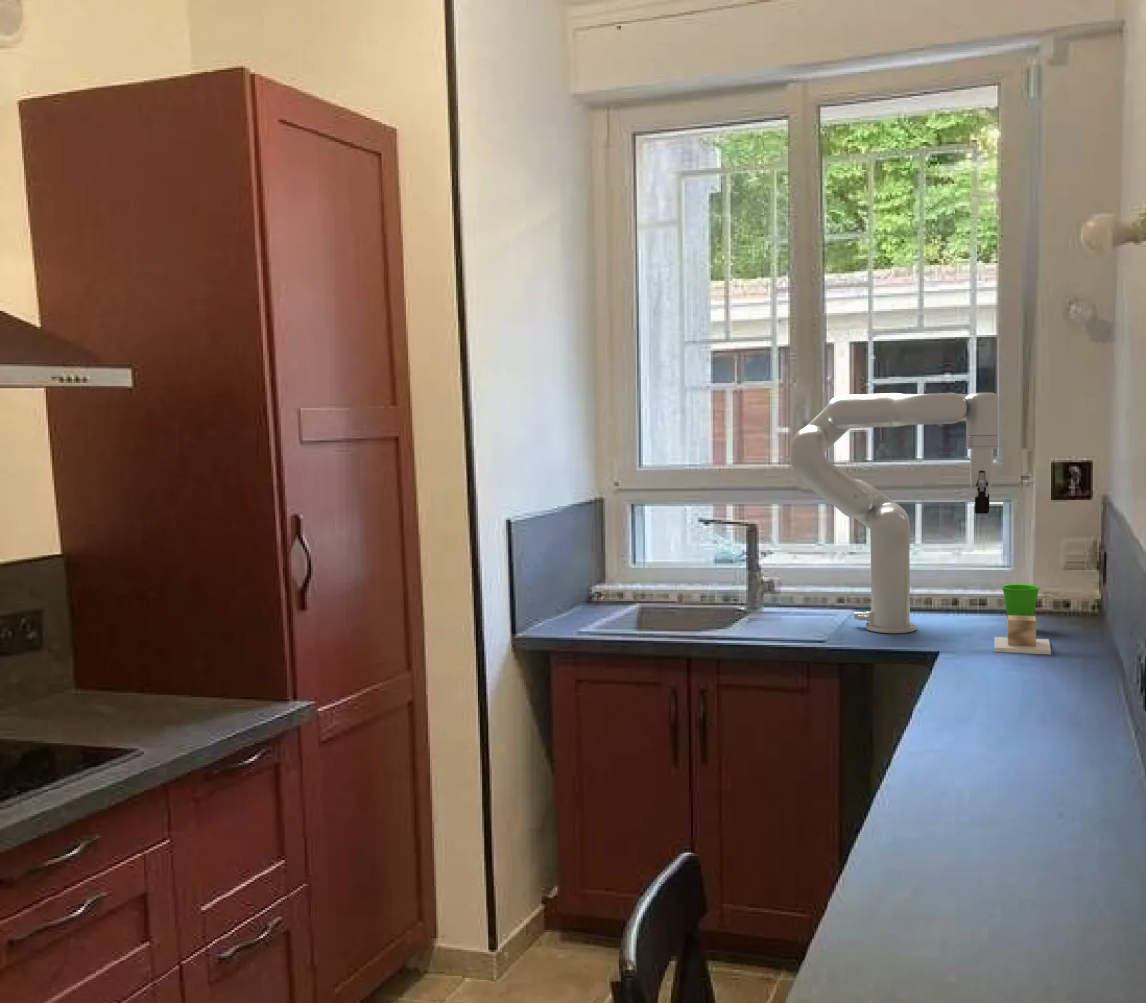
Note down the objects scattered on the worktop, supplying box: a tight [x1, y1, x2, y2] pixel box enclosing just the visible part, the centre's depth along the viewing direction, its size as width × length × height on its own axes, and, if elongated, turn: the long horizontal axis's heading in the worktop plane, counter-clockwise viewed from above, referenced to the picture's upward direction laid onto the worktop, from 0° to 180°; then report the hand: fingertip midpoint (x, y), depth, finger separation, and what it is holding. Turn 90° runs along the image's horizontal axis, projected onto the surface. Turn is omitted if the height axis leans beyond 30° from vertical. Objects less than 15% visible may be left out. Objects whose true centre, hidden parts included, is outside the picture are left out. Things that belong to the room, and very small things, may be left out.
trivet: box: [993, 636, 1052, 655], centre depth 259 cm, size 12×12×1 cm
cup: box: [1001, 583, 1041, 618], centre depth 278 cm, size 9×9×11 cm
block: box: [1007, 615, 1037, 647], centre depth 259 cm, size 6×6×6 cm
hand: (982, 511), depth 275 cm, fingers open, 9 cm apart
